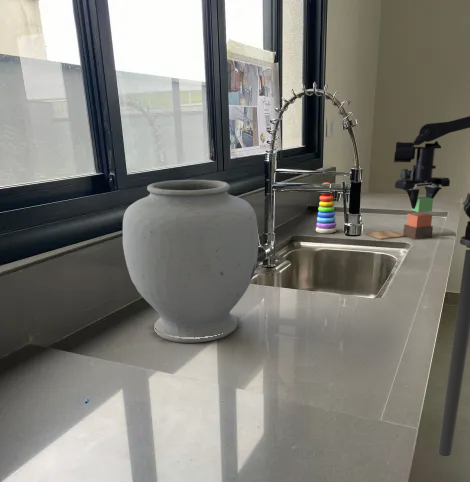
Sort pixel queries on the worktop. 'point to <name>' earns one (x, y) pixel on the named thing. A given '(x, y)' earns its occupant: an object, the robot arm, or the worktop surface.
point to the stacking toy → (326, 214)
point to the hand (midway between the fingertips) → (420, 207)
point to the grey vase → (191, 255)
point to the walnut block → (418, 232)
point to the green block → (423, 204)
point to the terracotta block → (419, 219)
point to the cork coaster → (385, 234)
